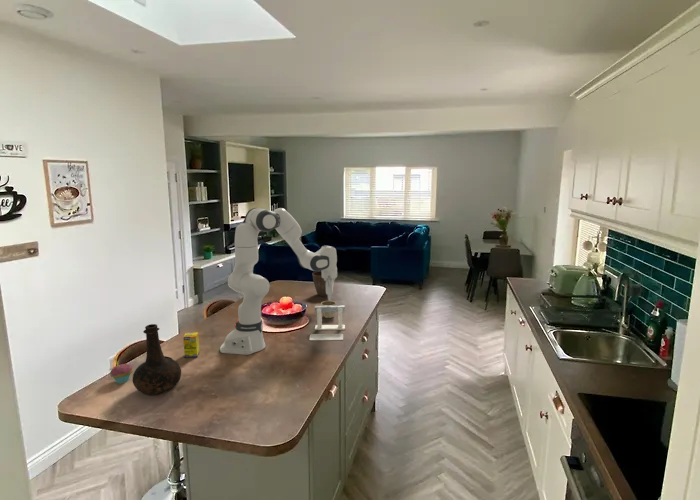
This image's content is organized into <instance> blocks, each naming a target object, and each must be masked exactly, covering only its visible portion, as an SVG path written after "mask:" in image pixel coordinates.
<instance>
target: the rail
mask: <svg viewBox="0 0 700 500" xmlns="http://www.w3.org/2000/svg"><path fill="white" fill-rule="evenodd" d="M345 307H346V305H335V306H322V305H314V313H317V308H321V312H322V313H323V312H334V313H338V308H342V313H345V311H346V309H345Z"/></svg>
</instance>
